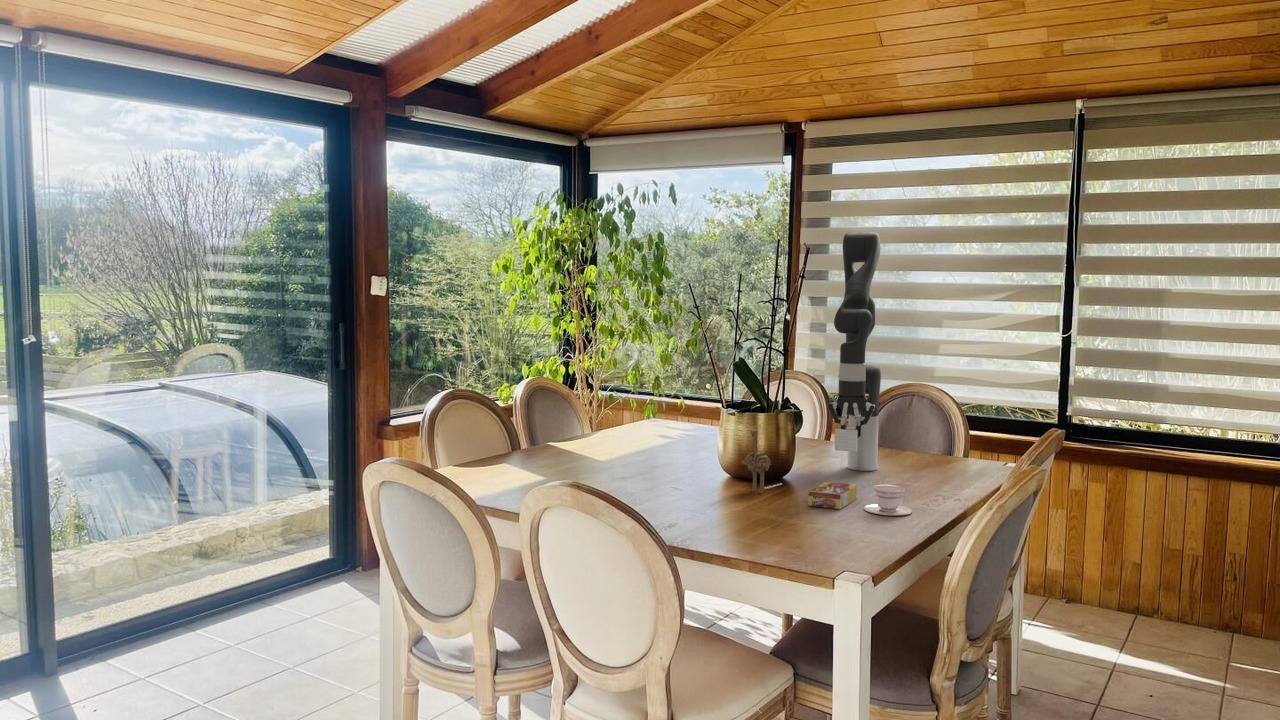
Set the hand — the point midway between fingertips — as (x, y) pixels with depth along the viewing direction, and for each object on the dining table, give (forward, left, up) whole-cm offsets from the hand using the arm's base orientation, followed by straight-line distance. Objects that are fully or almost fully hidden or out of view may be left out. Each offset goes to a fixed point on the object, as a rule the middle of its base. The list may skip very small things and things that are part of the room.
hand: (850, 437), depth 265 cm
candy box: (+13, 0, -13) cm, 18 cm away
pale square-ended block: (+3, 0, -2) cm, 3 cm away
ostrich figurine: (+12, -22, -15) cm, 29 cm away
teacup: (+25, +13, -15) cm, 32 cm away
